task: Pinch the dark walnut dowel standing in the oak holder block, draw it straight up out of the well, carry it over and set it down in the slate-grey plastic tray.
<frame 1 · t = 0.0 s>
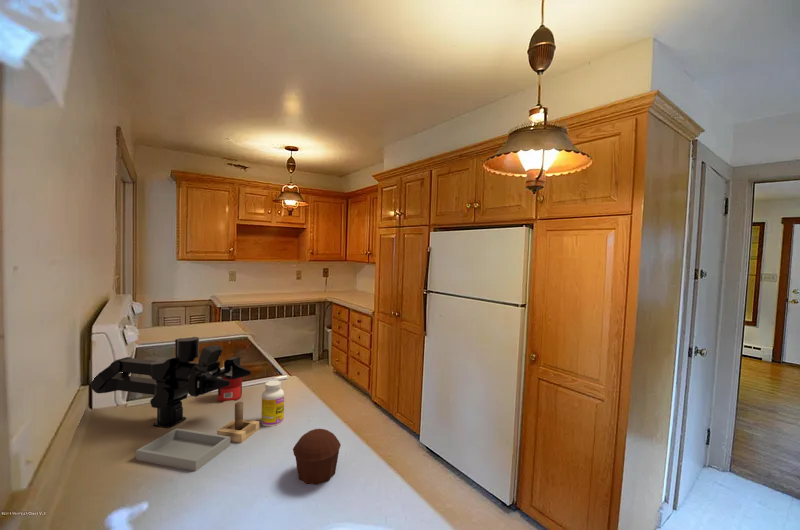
hand: (240, 377, 106), 17 cm above the worktop, tool horizontal, fingers open, 9 cm apart
tray: (185, 454, 95), on the worktop
muffin: (316, 474, 87), on the worktop
holder: (238, 435, 105), on the worktop
pin: (238, 433, 105), point 1 cm above the worktop, touching holder
supplement bottle: (272, 424, 113), on the worktop
canned food: (230, 398, 131), on the worktop
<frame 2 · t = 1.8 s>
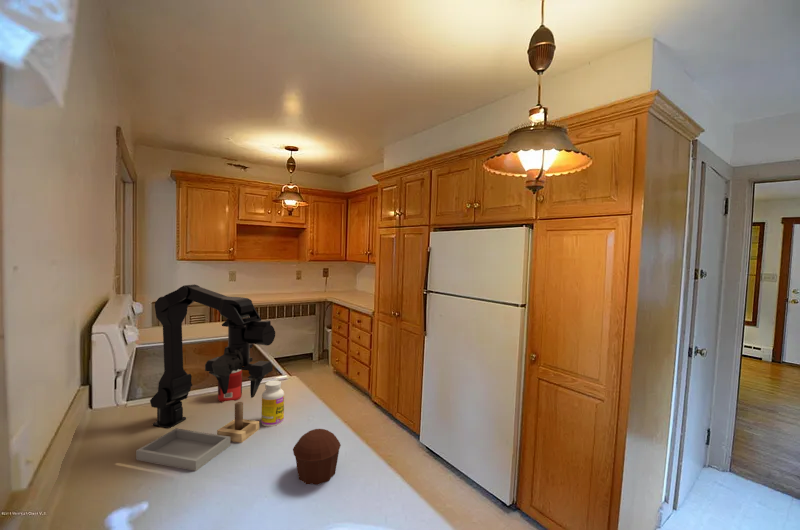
hand: (238, 395, 104), 12 cm above the worktop, tool pointing down, fingers open, 9 cm apart
nothing on the worktop moved.
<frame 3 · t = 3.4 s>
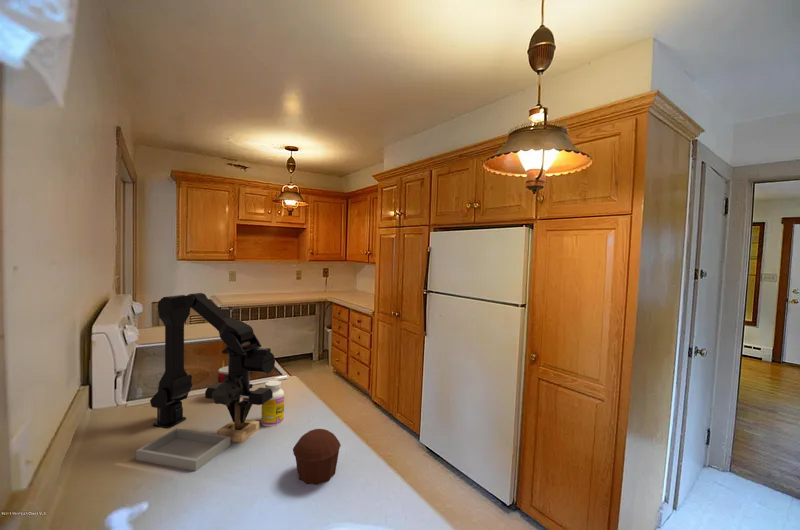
hand: (238, 422, 104), 4 cm above the worktop, tool pointing down, fingers closed on pin, 2 cm apart
pin: (238, 433, 105), point 1 cm above the worktop, touching gripper, holder
everything else where it was.
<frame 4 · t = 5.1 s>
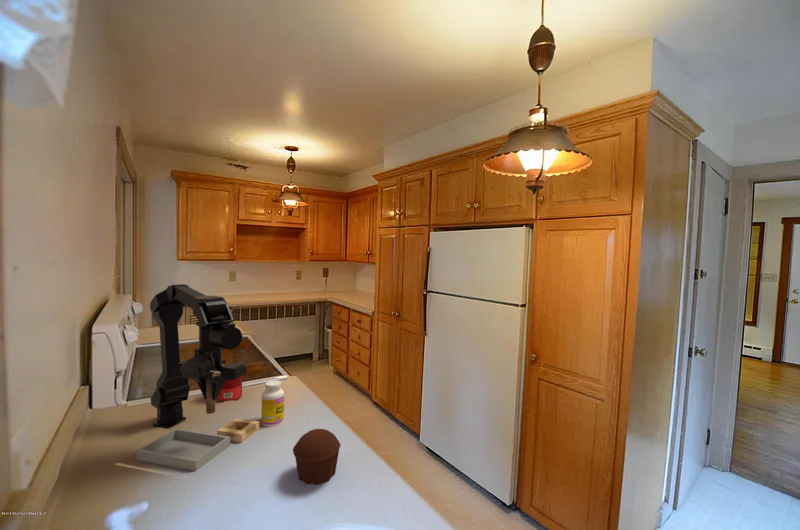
hand: (210, 399, 99), 13 cm above the worktop, tool pointing down, fingers closed on pin, 2 cm apart
pin: (210, 411, 99), point 9 cm above the worktop, touching gripper
everything else where it was.
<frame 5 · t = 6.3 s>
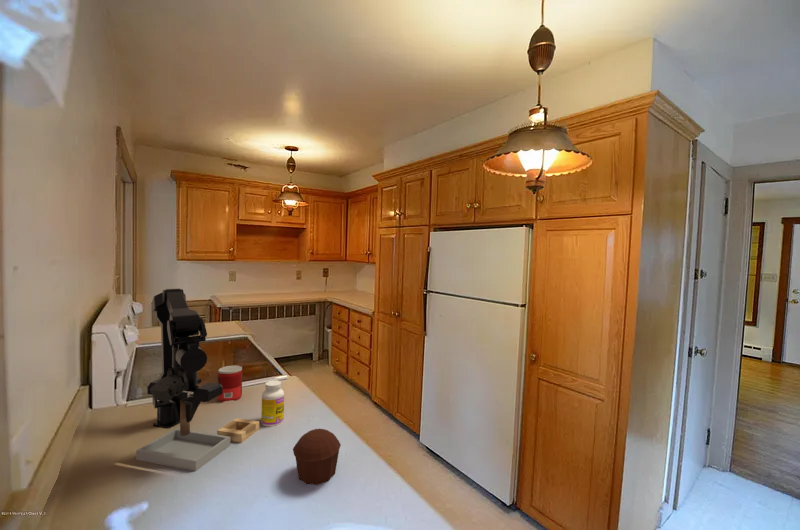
hand: (185, 421, 94), 9 cm above the worktop, tool pointing down, fingers closed on pin, 2 cm apart
pin: (185, 433, 94), point 6 cm above the worktop, touching gripper
everything else where it was.
when the fingers open (5 cm above the worktop, at t = 7.1 s): pin drops 1 cm, resting on tray.
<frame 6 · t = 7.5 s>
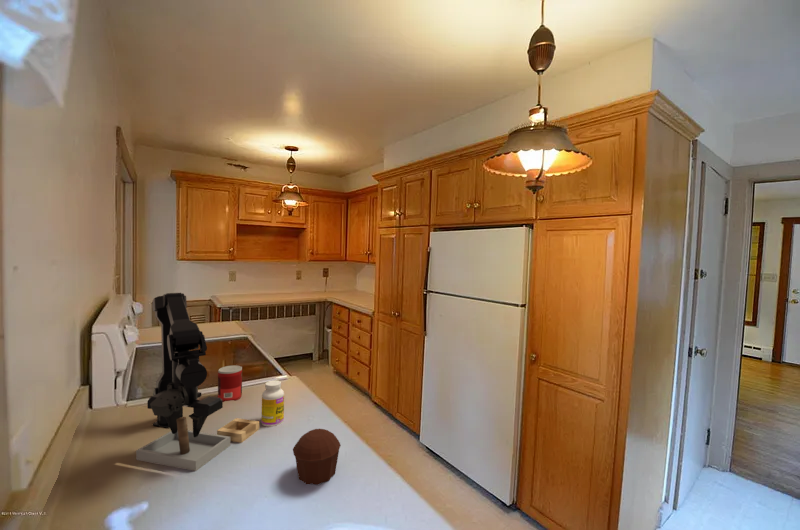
hand: (185, 435, 94), 5 cm above the worktop, tool pointing down, fingers open, 6 cm apart
pin: (185, 451, 95), point 1 cm above the worktop, tilted 5°, touching tray
everything else where it was.
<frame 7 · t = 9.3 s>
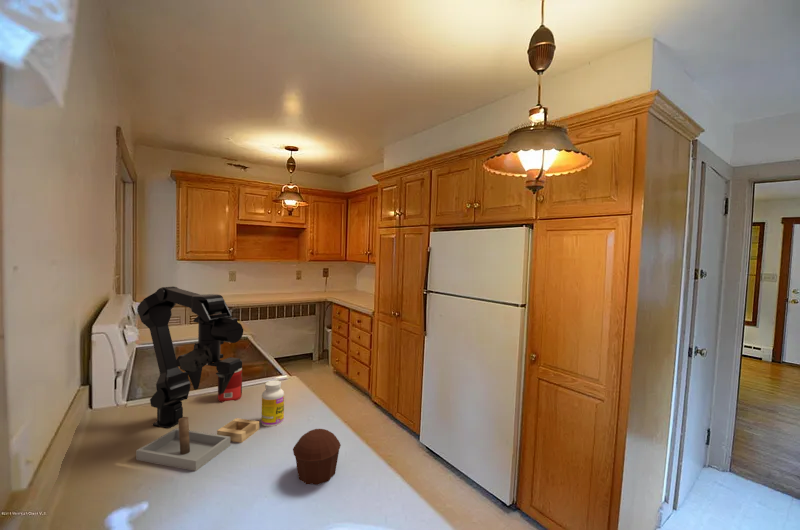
hand: (208, 391, 105), 13 cm above the worktop, tool pointing down, fingers open, 9 cm apart
nothing on the worktop moved.
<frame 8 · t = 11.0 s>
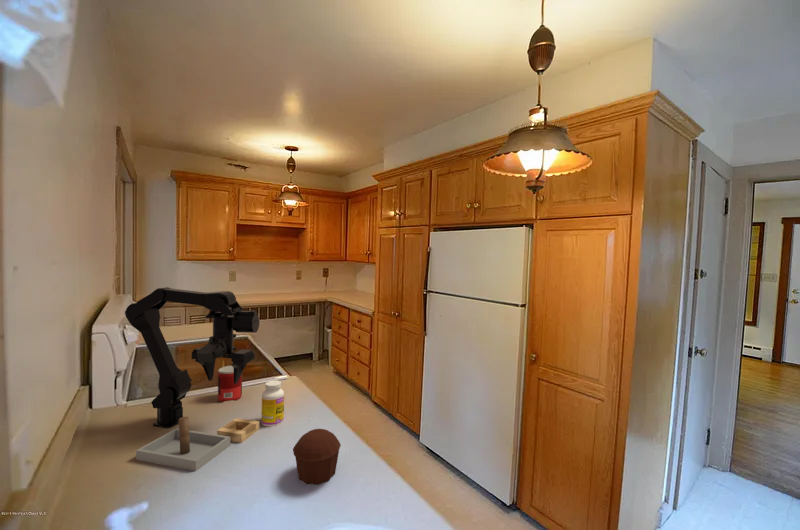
hand: (223, 381, 112), 13 cm above the worktop, tool pointing down, fingers open, 9 cm apart
nothing on the worktop moved.
at the end: pin inside the target area on the tray (0.0 cm from its centre), point 0.7 cm above the tray's base; the gripper is holding nothing; pin touching tray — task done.
